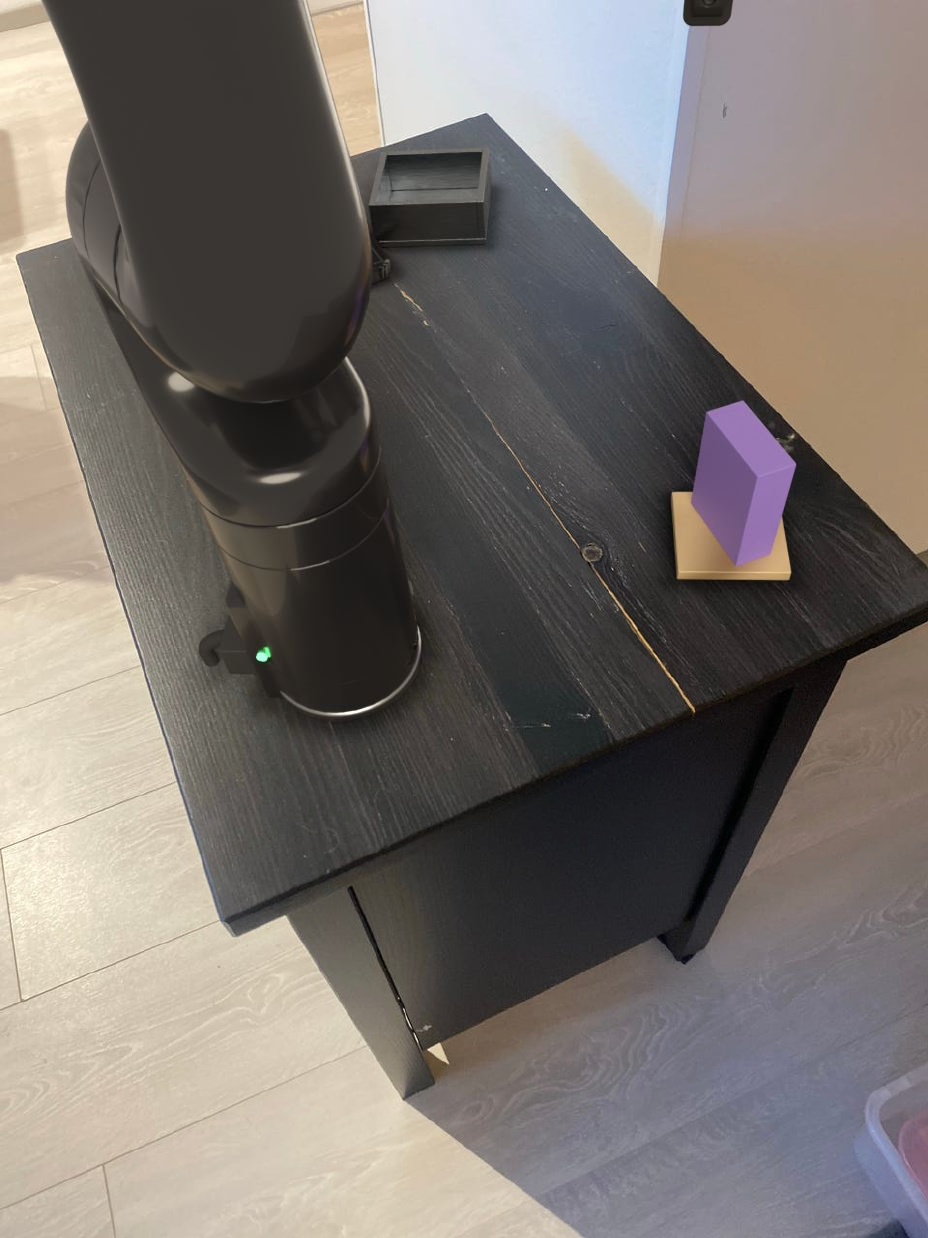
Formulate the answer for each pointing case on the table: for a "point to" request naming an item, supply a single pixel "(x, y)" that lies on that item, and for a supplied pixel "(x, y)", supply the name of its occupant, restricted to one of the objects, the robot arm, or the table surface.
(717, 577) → the coaster
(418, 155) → the black tray
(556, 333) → the table surface
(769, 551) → the purple rectangular block
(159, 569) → the table surface
